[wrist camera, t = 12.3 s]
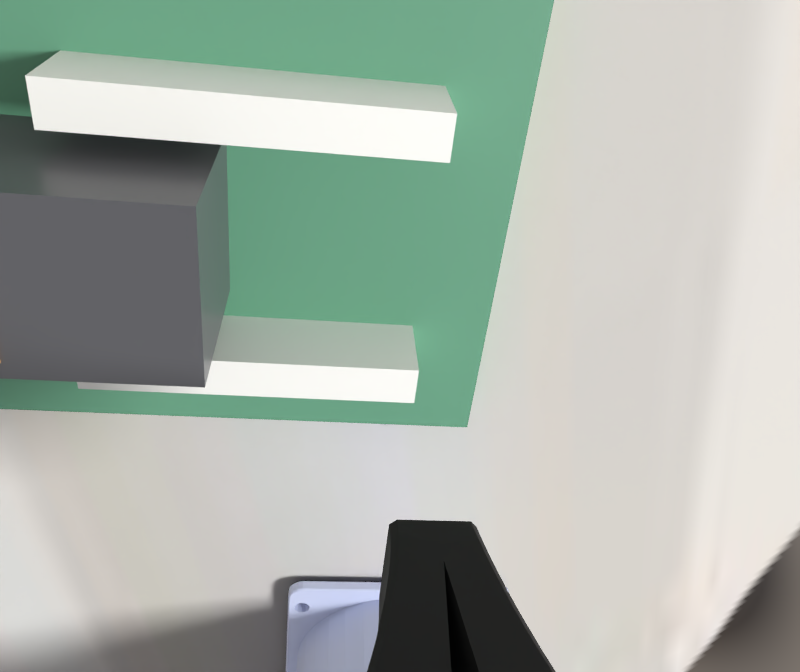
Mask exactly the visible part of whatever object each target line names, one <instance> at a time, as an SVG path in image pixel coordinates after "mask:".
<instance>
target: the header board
mask: <svg viewBox="0 0 800 672" xmlns="http://www.w3.org/2000/svg"><path fill="white" fill-rule="evenodd" d="M553 3H554V0H0V114H5V115H17V116H29V117H32V119H33V125H34V130H45V131H57V132H69V133H82V134H94V135H107V136H119V137H132V138H144V139H157V140H169V141H181V142H194V143H206V144H219V145H227V185H228V227H229V269H230V292H229V296H228V300H227V303H226V307H225V311H224V315H223V319H222V323H221V327H220V331H219V335H218V339H217V343H216V346H215V350H214V354H213V358H212V362H211V366H210V370H209V374H208V378H207V382H206V385H205V388H204V387H181V386H158V385H136V384H113V383H90V382H67V381H45V380H22V379H0V409H18V410H43V411H69V412H94V413H120V414H145V415H170V416H196V417H221V418H247V419H272V420H297V421H323V422H348V423H374V424H399V425H424V426H450V427H467V425H468V420H469V415H470V410H471V405H472V400H473V395H474V390H475V385H476V380H477V375H478V371H479V366H480V361H481V356H482V351H483V346H484V341H485V336H486V331H487V326H488V322H489V317H490V312H491V307H492V302H493V297H494V292H495V287H496V282H497V277H498V273H499V268H500V263H501V258H502V253H503V248H504V243H505V238H506V233H507V228H508V223H509V219H510V214H511V209H512V204H513V199H514V194H515V189H516V184H517V179H518V174H519V170H520V165H521V160H522V155H523V150H524V145H525V140H526V135H527V130H528V125H529V121H530V116H531V111H532V106H533V101H534V96H535V91H536V86H537V81H538V76H539V71H540V67H541V62H542V57H543V52H544V47H545V42H546V37H547V32H548V27H549V22H550V18H551V13H552V8H553Z"/></svg>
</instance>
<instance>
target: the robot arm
mask: <svg viewBox="0 0 800 672" xmlns="http://www.w3.org/2000/svg"><path fill="white" fill-rule="evenodd" d="M286 672H555V670H554V669H553V667H552V665H551V664H550V662H549V661H548V659H547V657H546V656H545V654H544V653H543V651H542V650H541V648H540V646H539V645H538V643H537V641H536V639H535V638H534V636H533V634H532V633H531V631H530V629H529V628H528V626H527V624H526V623H525V621H524V619H523V617H522V616H521V614H520V612H519V611H518V609H517V607H516V605H515V603H514V602H513V600H512V598H511V596H510V594H509V591H508V589H507V588H506V587H505V585H504V583H503V581H502V579H501V577H500V576H499V574H498V572H497V570H496V568H495V566H494V564H493V562H492V560H491V558H490V556H489V554H488V552H487V549H486V547H485V545H484V543H483V541H482V539H481V536H480V534H479V532H478V530H477V527H476V526H475V525H474V524H473V523H472V522H465V521H425V520H396V521H394V522H393V523H391V524H389V530H388V537H387V544H386V551H385V558H384V565H383V573H382V580H381V582H330V581H300V582H296V583H294V584H293V585H291V586H290V588H289V594H288V620H287V648H286Z"/></svg>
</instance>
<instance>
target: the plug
mask: <svg viewBox="0 0 800 672" xmlns="http://www.w3.org/2000/svg"><path fill="white" fill-rule="evenodd" d="M229 292H230V269H229V227H228V185H227V145H219V144H206V143H194V142H181V141H169V140H157V139H144V138H132V137H119V136H107V135H94V134H82V133H69V132H57V131H45V130H34V125H33V119H32V117H29V116H17V115H5V114H0V379H22V380H45V381H67V382H90V383H113V384H136V385H158V386H181V387H204V388H205V385H206V382H207V378H208V374H209V370H210V366H211V362H212V358H213V354H214V350H215V346H216V343H217V339H218V335H219V331H220V327H221V323H222V319H223V315H224V311H225V307H226V303H227V300H228V296H229Z"/></svg>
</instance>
